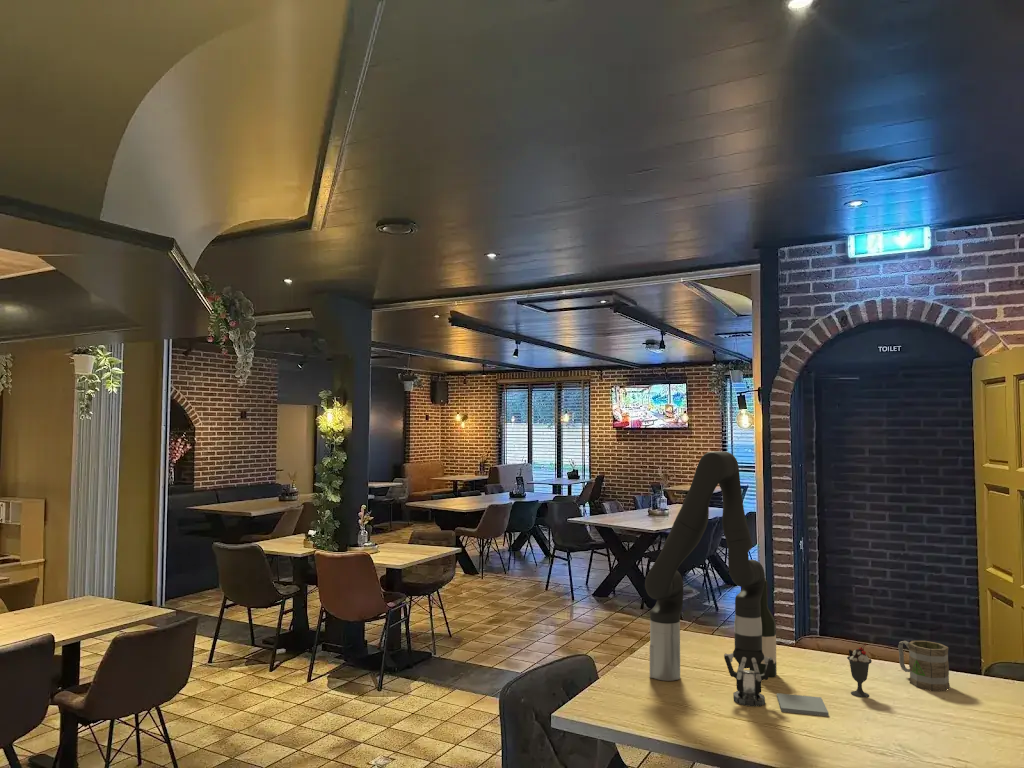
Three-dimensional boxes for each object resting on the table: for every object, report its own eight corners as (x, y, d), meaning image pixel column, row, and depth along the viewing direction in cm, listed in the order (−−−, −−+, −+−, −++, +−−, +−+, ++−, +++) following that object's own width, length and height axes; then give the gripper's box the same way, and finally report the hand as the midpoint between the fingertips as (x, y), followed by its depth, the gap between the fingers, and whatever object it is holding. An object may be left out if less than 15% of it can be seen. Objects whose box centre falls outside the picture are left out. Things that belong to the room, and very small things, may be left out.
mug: (958, 689, 216) (957, 648, 217) (933, 693, 212) (931, 651, 213) (912, 673, 231) (911, 635, 232) (887, 677, 227) (886, 638, 228)
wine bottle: (773, 670, 232) (771, 575, 235) (780, 678, 224) (778, 580, 226) (746, 668, 233) (745, 575, 235) (752, 677, 225) (751, 579, 227)
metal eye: (734, 704, 201) (734, 699, 201) (732, 694, 209) (732, 689, 209) (765, 707, 199) (765, 702, 199) (763, 697, 207) (763, 692, 207)
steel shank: (742, 702, 203) (741, 673, 203) (741, 697, 206) (740, 669, 207) (756, 704, 202) (756, 675, 202) (755, 699, 205) (755, 670, 206)
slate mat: (781, 711, 196) (781, 707, 196) (776, 696, 208) (776, 693, 208) (828, 716, 193) (828, 712, 193) (821, 701, 205) (821, 697, 205)
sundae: (875, 699, 206) (874, 646, 208) (850, 697, 208) (849, 644, 209) (869, 691, 213) (867, 639, 214) (845, 689, 214) (843, 638, 215)
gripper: (722, 632, 204) (723, 695, 202) (775, 636, 200) (776, 700, 199) (721, 626, 211) (722, 686, 210) (773, 630, 207) (774, 691, 206)
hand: (749, 692), depth 204 cm, fingers closed on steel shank, 4 cm apart
